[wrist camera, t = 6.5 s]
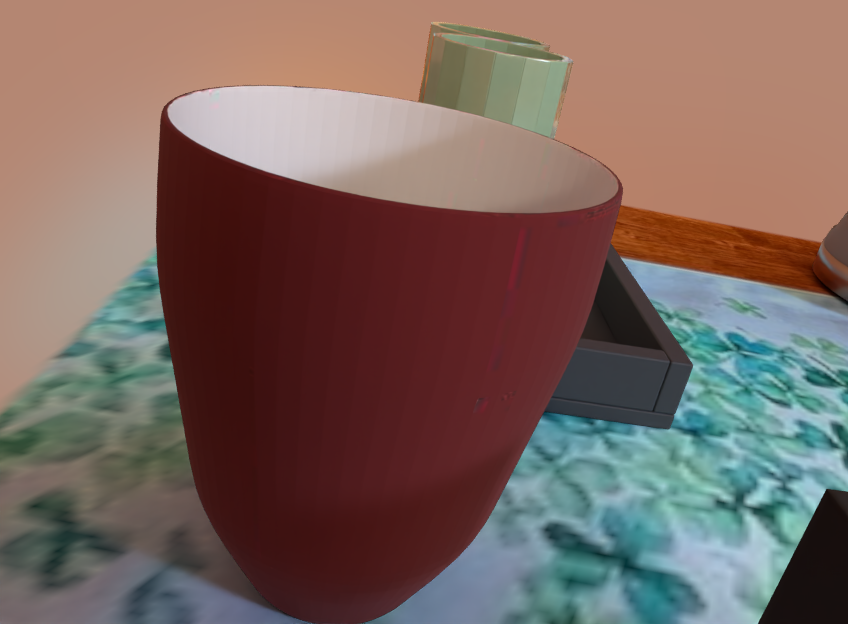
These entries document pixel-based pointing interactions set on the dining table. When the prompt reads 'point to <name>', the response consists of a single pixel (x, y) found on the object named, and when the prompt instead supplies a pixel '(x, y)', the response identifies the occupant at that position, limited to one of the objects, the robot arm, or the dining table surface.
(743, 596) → the dining table surface
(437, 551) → the mug
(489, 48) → the cup
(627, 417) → the tray
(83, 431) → the dining table surface
